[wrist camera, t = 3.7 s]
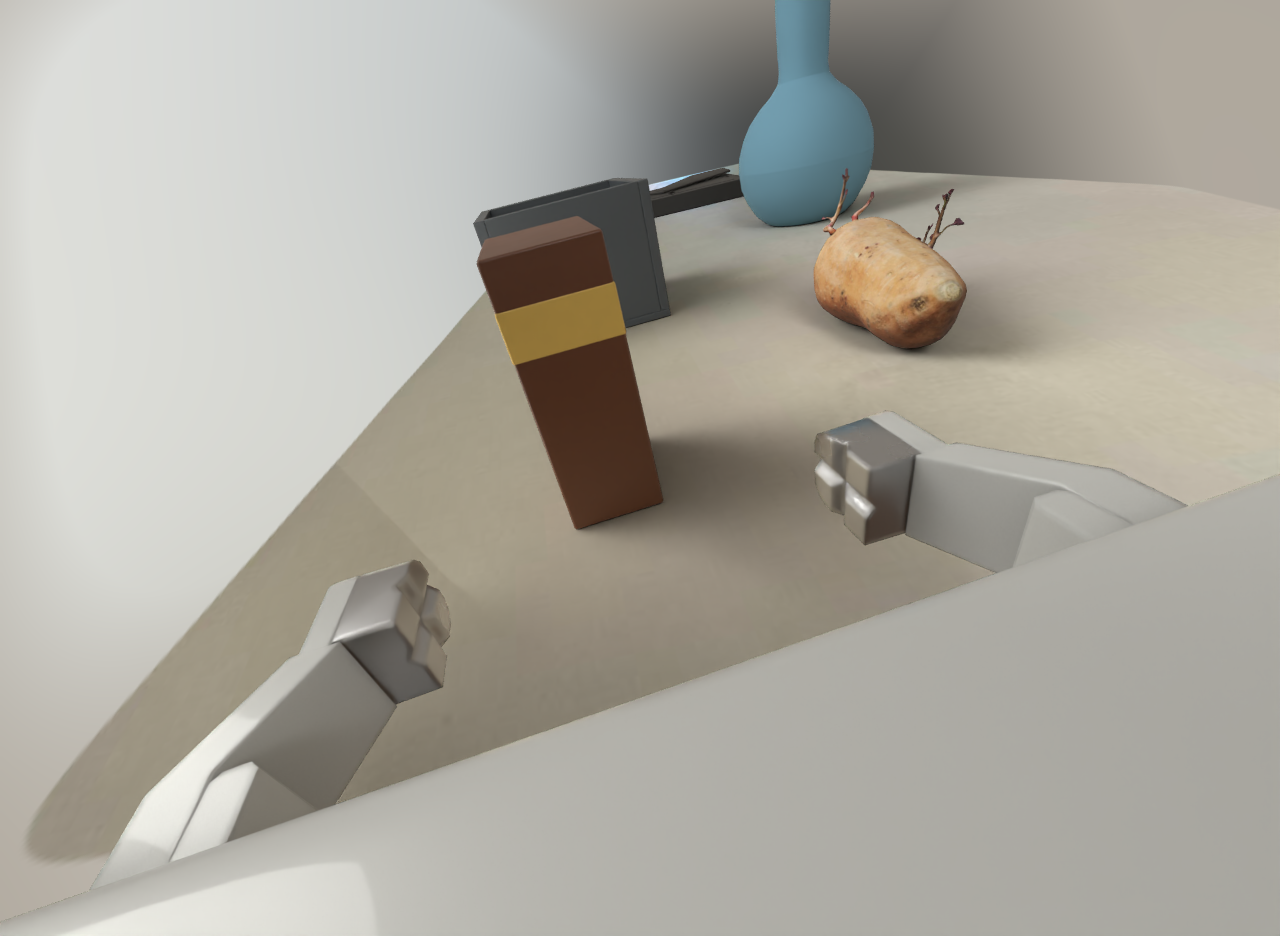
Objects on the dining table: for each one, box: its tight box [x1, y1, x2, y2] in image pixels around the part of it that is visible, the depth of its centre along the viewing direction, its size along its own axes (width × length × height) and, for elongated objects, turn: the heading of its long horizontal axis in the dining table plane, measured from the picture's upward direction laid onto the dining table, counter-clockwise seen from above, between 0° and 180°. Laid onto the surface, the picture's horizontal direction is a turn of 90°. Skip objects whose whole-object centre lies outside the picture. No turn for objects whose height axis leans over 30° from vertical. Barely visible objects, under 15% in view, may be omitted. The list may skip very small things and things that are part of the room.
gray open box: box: [473, 178, 671, 328], centre depth 45 cm, size 14×14×11 cm
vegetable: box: [814, 168, 967, 348], centre depth 29 cm, size 16×11×10 cm
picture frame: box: [650, 168, 744, 217], centre depth 106 cm, size 23×4×28 cm
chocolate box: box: [477, 216, 663, 529], centre depth 20 cm, size 4×6×11 cm
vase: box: [739, 0, 874, 226], centre depth 59 cm, size 16×17×25 cm
